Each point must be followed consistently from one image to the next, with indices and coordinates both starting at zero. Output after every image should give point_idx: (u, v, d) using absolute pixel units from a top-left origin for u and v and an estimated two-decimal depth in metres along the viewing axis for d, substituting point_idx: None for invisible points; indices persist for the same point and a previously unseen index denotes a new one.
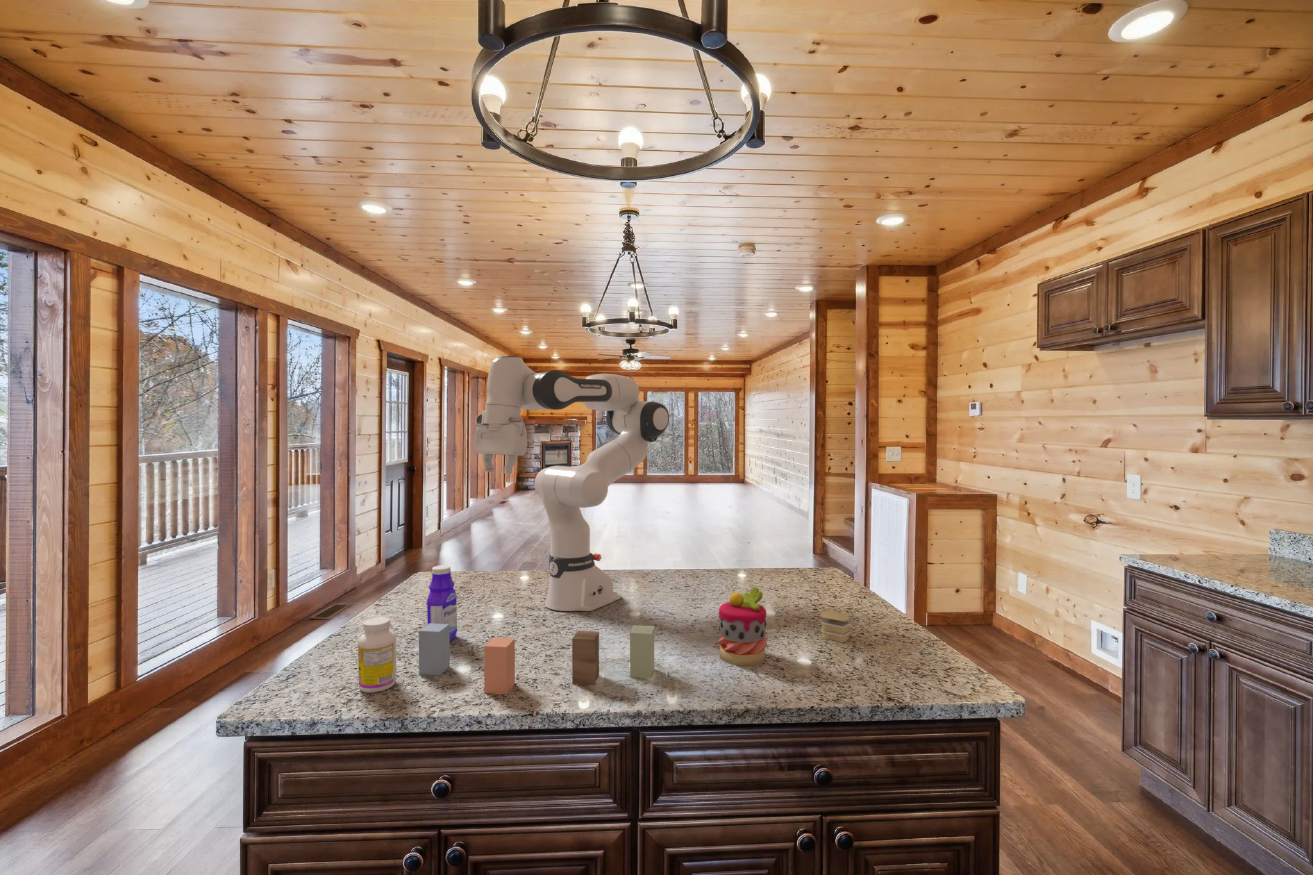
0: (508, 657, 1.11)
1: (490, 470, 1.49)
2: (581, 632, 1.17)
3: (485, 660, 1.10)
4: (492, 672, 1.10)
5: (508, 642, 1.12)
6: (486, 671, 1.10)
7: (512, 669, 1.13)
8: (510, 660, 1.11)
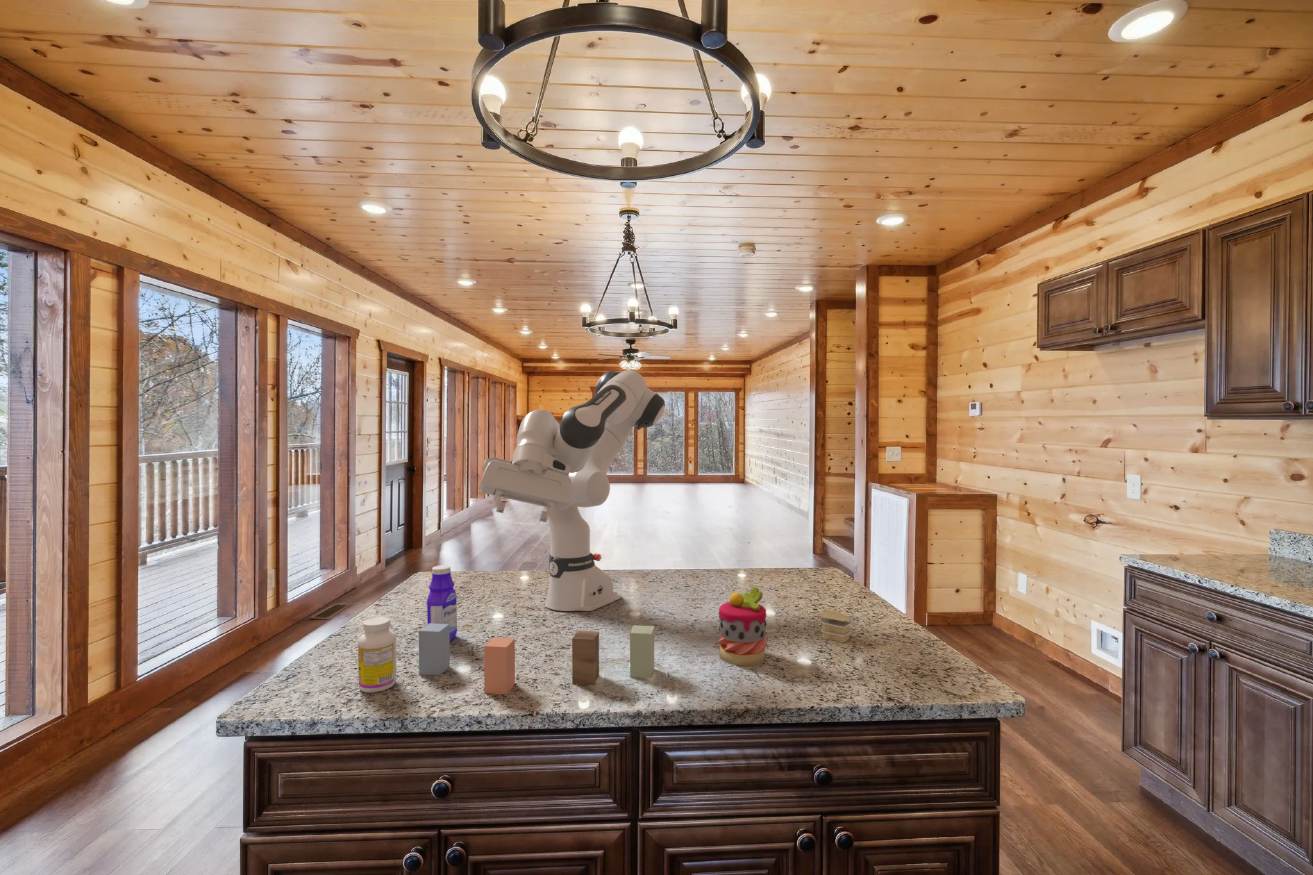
0: (508, 657, 1.11)
1: (541, 517, 1.26)
2: (581, 632, 1.17)
3: (485, 660, 1.10)
4: (492, 672, 1.10)
5: (508, 642, 1.12)
6: (486, 671, 1.10)
7: (512, 669, 1.13)
8: (510, 660, 1.11)
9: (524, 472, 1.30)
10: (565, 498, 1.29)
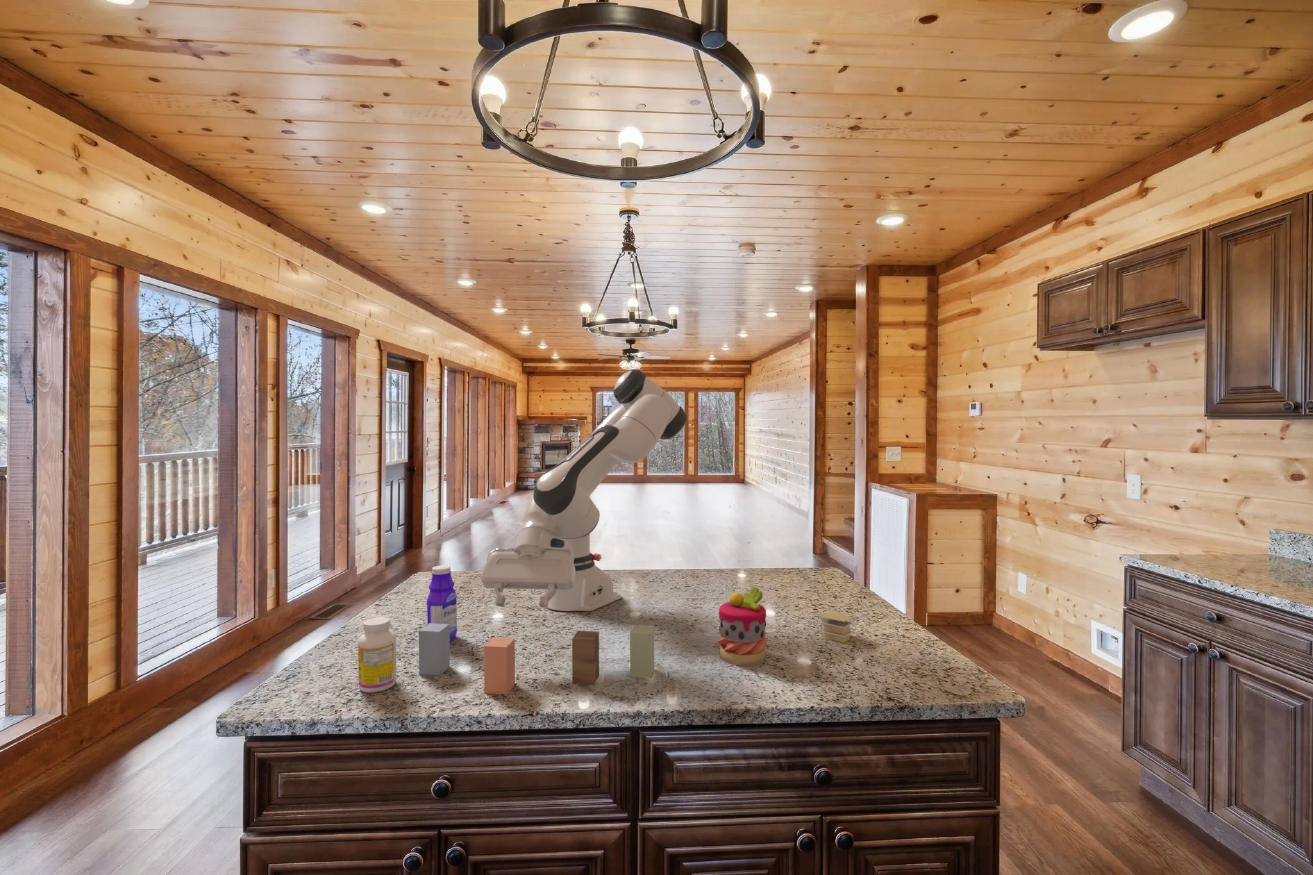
0: (508, 657, 1.11)
1: None
2: (581, 632, 1.17)
3: (485, 660, 1.10)
4: (492, 672, 1.10)
5: (508, 642, 1.12)
6: (486, 671, 1.10)
7: (512, 669, 1.13)
8: (510, 660, 1.11)
9: (523, 558, 1.27)
10: (564, 577, 1.23)
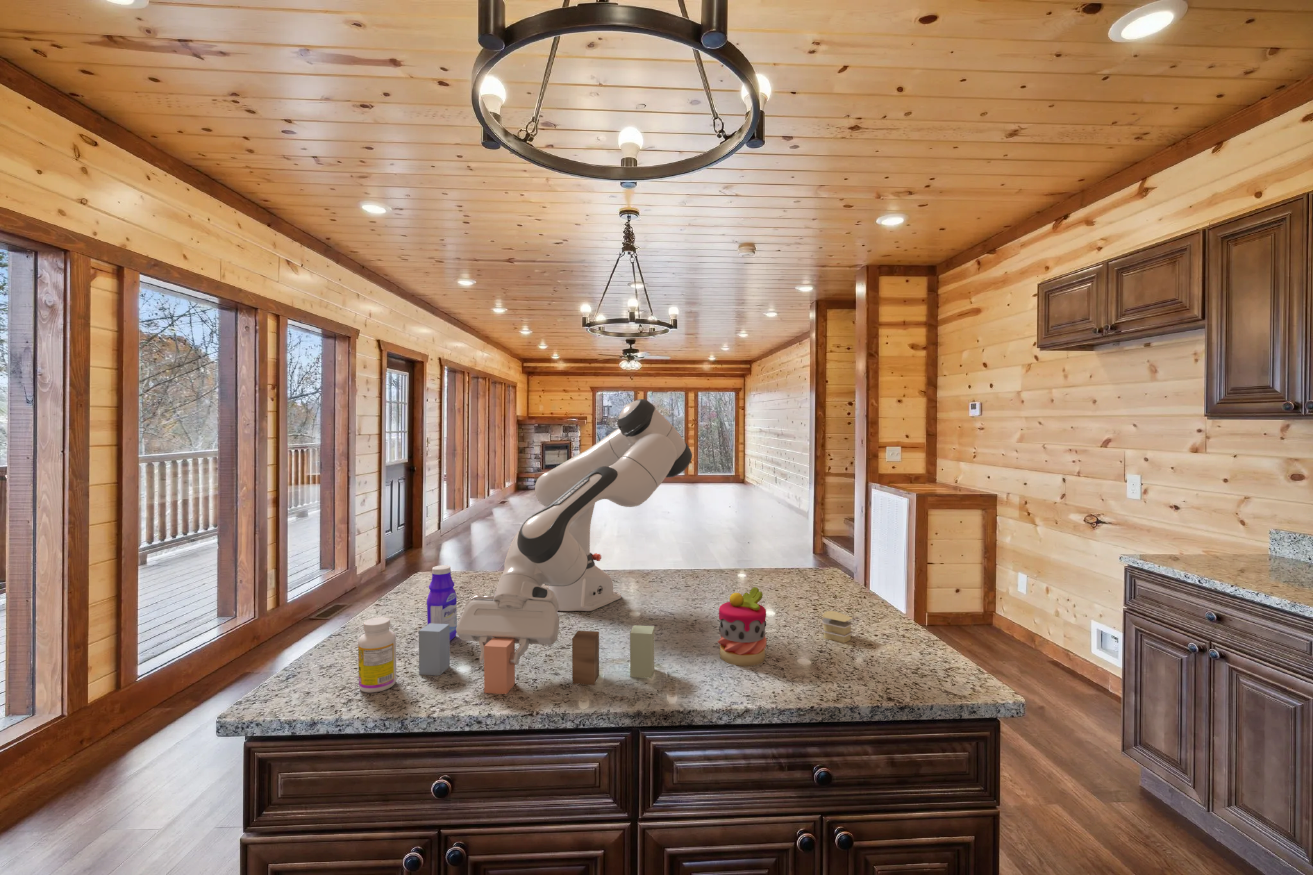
0: (508, 657, 1.11)
1: None
2: (581, 632, 1.17)
3: (485, 660, 1.10)
4: (492, 672, 1.10)
5: (508, 642, 1.12)
6: (486, 671, 1.10)
7: (512, 669, 1.13)
8: None
9: (503, 608, 1.17)
10: (545, 632, 1.13)
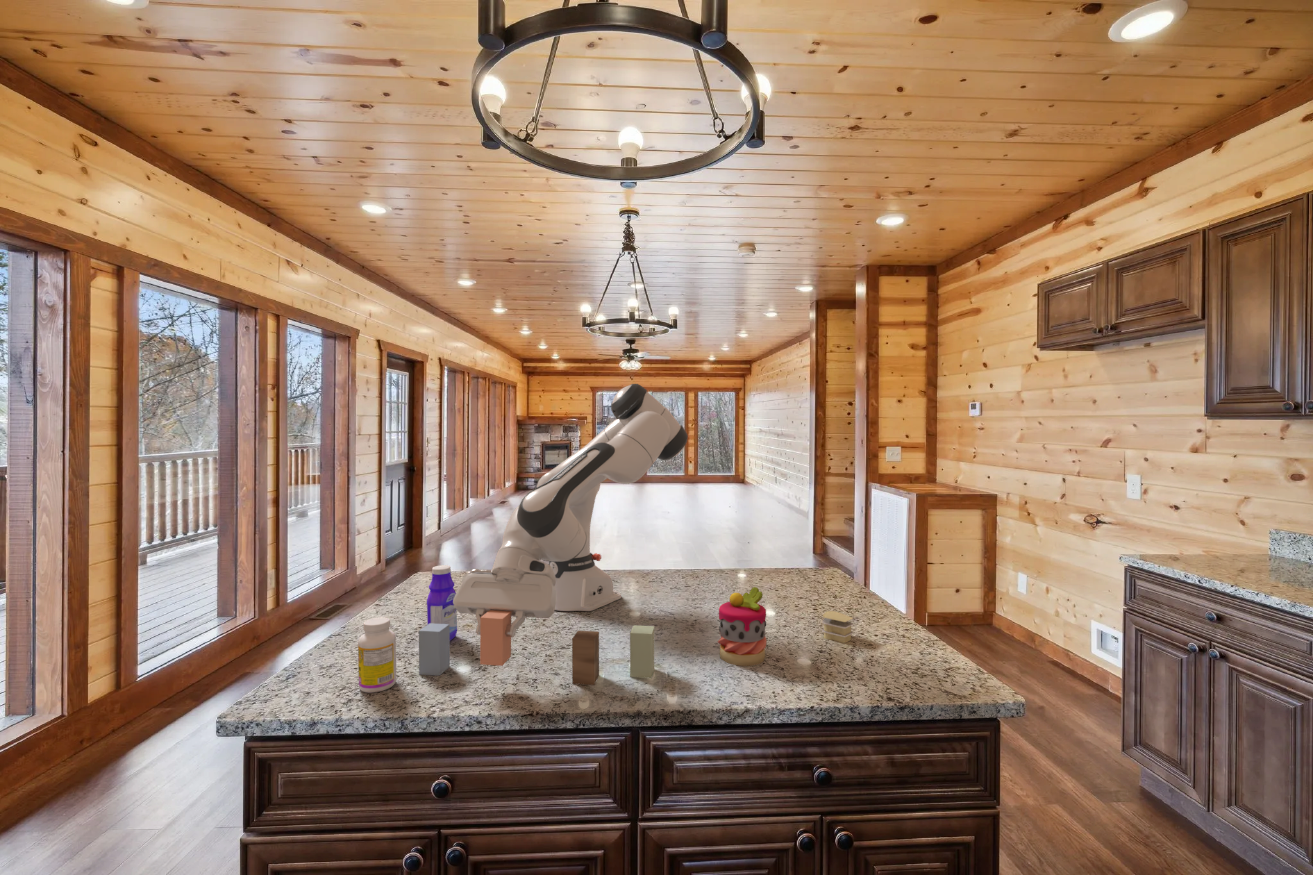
0: (505, 629, 1.11)
1: None
2: (581, 632, 1.17)
3: (481, 631, 1.10)
4: (488, 643, 1.10)
5: (504, 614, 1.12)
6: (482, 642, 1.10)
7: (508, 641, 1.13)
8: None
9: (500, 581, 1.17)
10: (542, 605, 1.13)
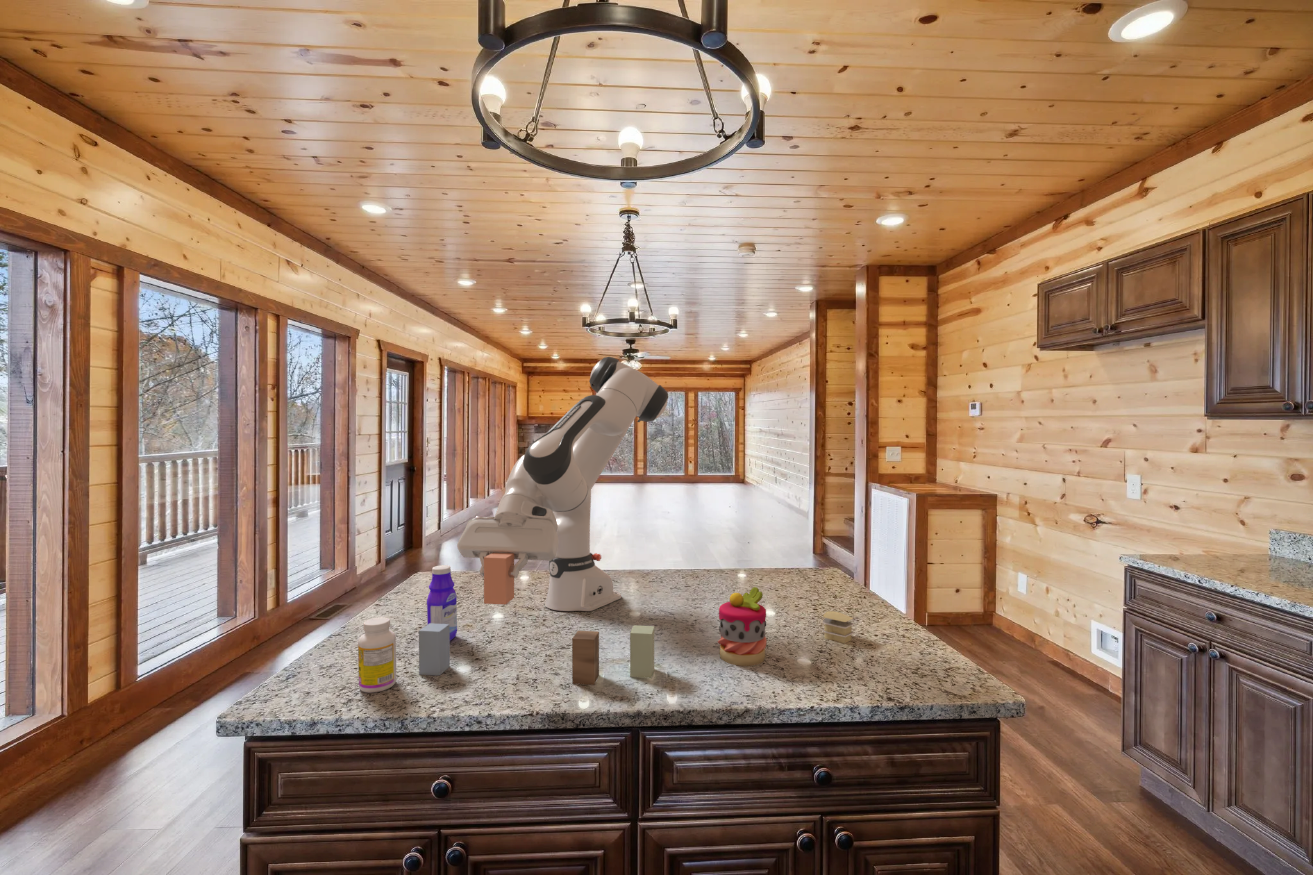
0: (508, 569, 1.13)
1: None
2: (581, 632, 1.17)
3: (485, 571, 1.12)
4: (492, 583, 1.12)
5: (507, 555, 1.14)
6: (486, 582, 1.12)
7: (511, 582, 1.15)
8: None
9: (503, 526, 1.20)
10: (544, 547, 1.15)
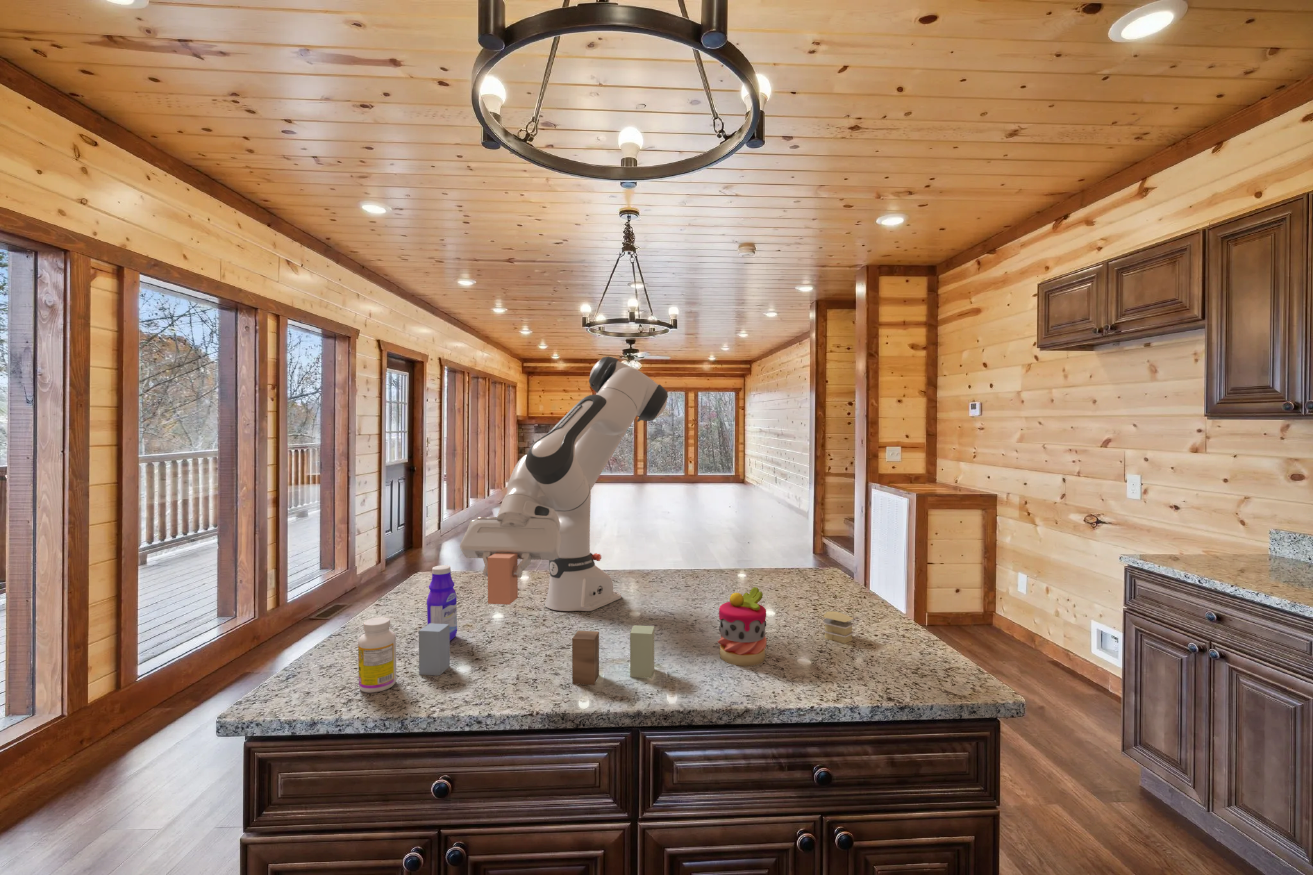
0: (511, 569, 1.13)
1: None
2: (581, 632, 1.17)
3: (488, 571, 1.12)
4: (496, 583, 1.12)
5: (511, 555, 1.14)
6: (490, 582, 1.12)
7: (515, 582, 1.15)
8: None
9: (506, 526, 1.20)
10: (548, 546, 1.15)
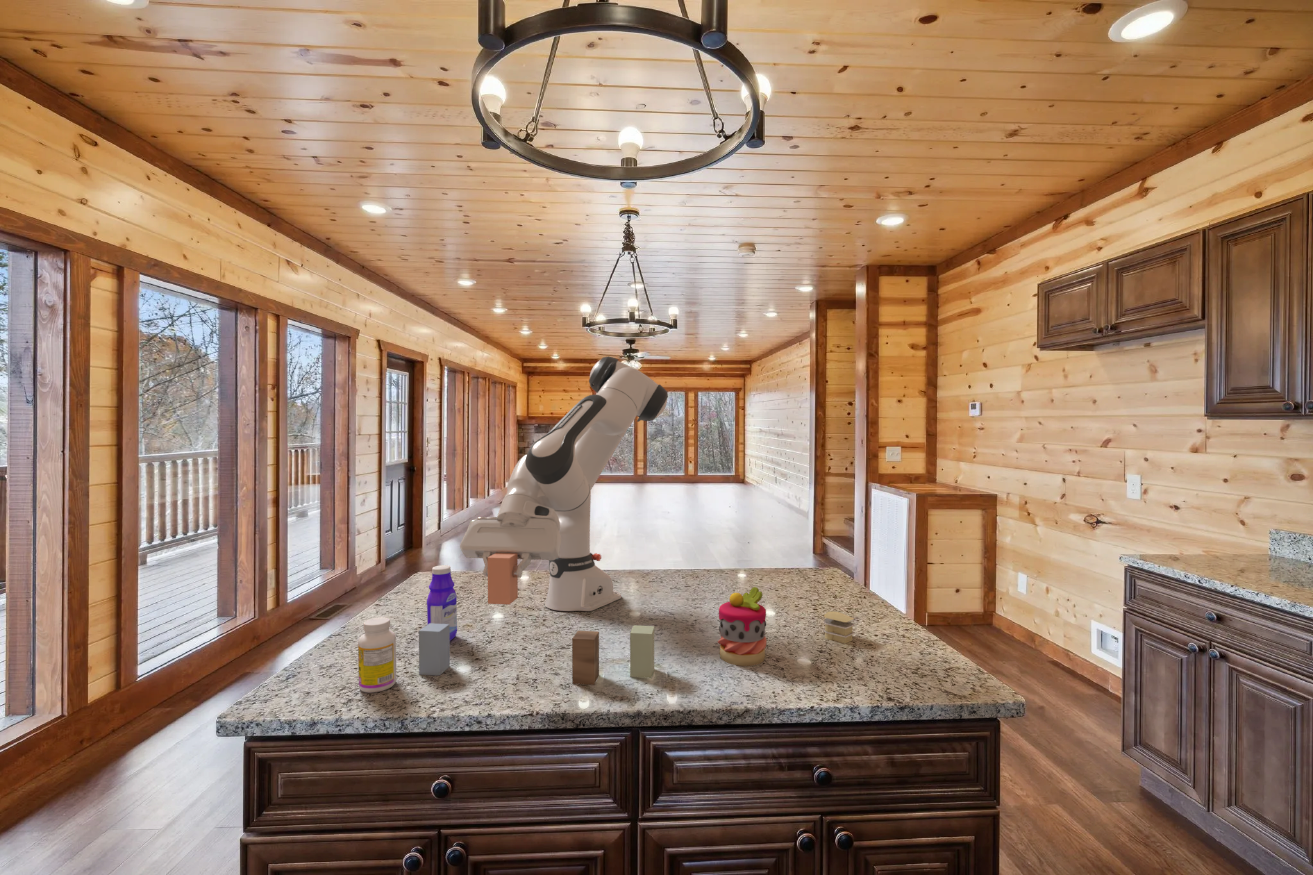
0: (511, 569, 1.13)
1: None
2: (581, 632, 1.17)
3: (488, 571, 1.12)
4: (496, 583, 1.12)
5: (511, 555, 1.14)
6: (490, 582, 1.12)
7: (515, 582, 1.15)
8: None
9: (506, 526, 1.20)
10: (548, 546, 1.15)
